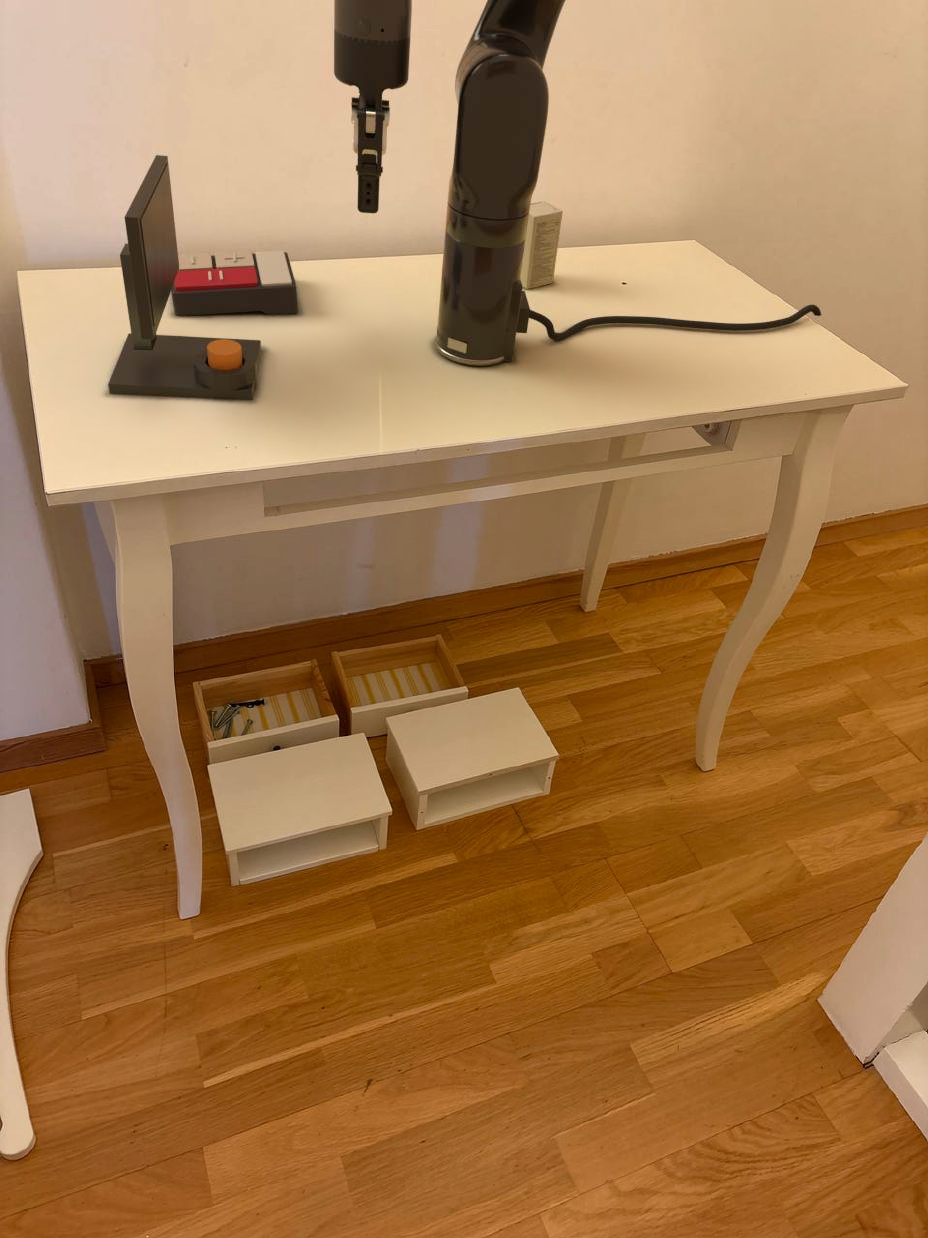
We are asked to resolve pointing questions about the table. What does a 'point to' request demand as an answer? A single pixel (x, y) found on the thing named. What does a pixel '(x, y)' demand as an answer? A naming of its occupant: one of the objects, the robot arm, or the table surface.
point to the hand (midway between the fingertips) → (367, 197)
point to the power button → (224, 354)
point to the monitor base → (183, 370)
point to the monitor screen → (152, 245)
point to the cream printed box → (540, 245)
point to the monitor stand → (133, 303)
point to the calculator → (234, 283)
